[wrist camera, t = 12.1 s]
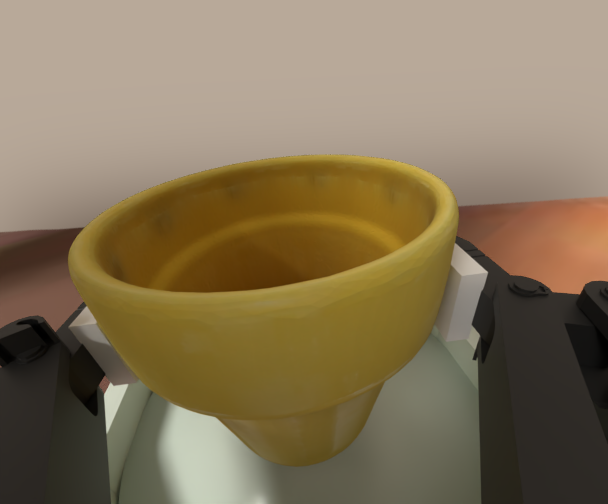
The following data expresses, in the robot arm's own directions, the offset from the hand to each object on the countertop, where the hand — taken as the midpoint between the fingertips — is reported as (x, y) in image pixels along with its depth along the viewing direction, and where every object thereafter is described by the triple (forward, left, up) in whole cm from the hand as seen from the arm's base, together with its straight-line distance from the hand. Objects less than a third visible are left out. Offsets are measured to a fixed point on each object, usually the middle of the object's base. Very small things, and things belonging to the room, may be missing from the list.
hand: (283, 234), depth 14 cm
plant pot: (+2, -4, -6) cm, 8 cm away
